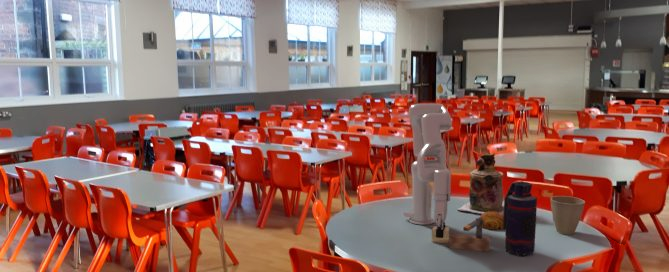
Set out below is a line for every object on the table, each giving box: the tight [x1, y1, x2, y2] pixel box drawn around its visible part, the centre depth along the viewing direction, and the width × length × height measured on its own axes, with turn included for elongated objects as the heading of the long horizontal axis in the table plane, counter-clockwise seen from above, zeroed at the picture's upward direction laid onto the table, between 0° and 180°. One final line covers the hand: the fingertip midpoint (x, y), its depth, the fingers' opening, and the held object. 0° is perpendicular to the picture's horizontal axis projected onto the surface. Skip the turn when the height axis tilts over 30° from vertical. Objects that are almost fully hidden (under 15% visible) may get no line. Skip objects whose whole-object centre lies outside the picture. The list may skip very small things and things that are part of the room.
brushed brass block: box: [431, 225, 450, 244], centre depth 238 cm, size 7×6×6 cm
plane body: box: [448, 224, 491, 253], centre depth 228 cm, size 17×5×11 cm, turn 71°
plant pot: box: [550, 195, 586, 236], centre depth 249 cm, size 15×15×16 cm
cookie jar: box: [457, 152, 504, 215], centre depth 288 cm, size 25×25×32 cm
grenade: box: [502, 180, 538, 257], centre depth 223 cm, size 14×12×30 cm
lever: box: [462, 217, 483, 232], centre depth 221 cm, size 16×3×2 cm, turn 142°
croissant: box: [478, 211, 504, 230], centre depth 261 cm, size 14×16×8 cm
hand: (440, 234), depth 238 cm, fingers open, 6 cm apart
